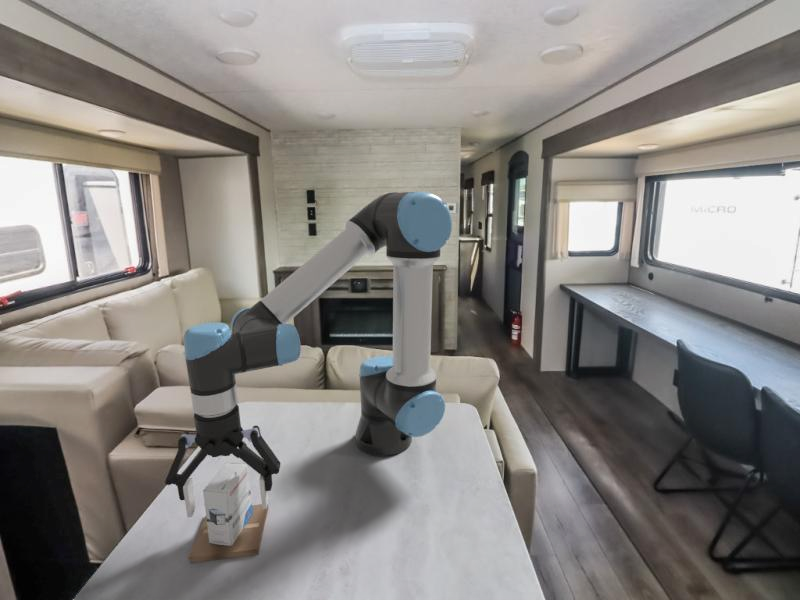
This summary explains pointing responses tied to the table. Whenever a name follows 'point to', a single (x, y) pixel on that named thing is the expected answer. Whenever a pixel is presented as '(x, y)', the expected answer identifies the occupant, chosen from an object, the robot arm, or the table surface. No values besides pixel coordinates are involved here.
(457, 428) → the table surface
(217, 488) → the ink box
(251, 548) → the cardboard box
